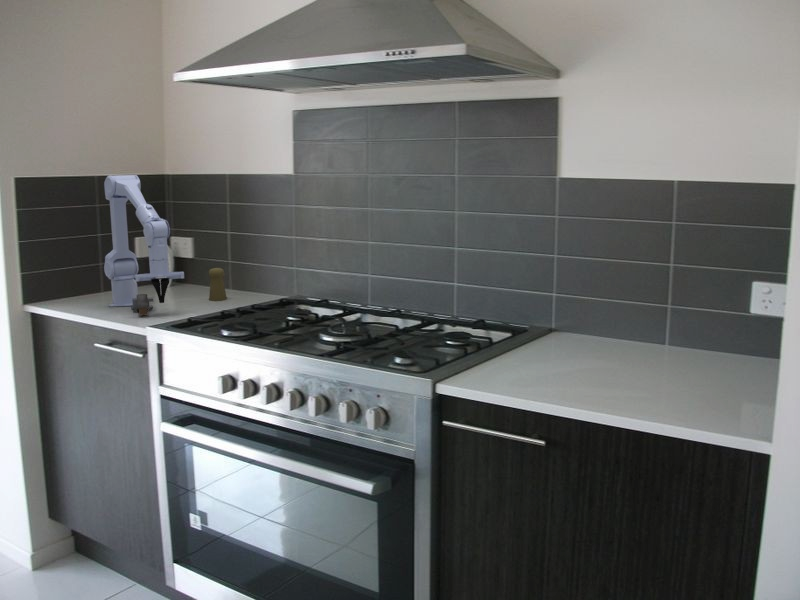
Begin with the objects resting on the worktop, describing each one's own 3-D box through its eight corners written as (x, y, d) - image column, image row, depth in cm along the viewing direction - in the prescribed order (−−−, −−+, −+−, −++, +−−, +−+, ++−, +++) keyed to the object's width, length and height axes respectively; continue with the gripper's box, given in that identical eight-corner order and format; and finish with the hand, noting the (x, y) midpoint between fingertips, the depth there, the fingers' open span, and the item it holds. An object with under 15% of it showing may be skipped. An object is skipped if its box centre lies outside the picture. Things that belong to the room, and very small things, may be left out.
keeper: (133, 311, 258) (132, 298, 258) (153, 309, 260) (153, 297, 260) (133, 312, 256) (132, 299, 255) (154, 311, 258) (153, 298, 257)
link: (135, 305, 264) (133, 287, 263) (149, 304, 265) (147, 286, 264) (135, 315, 247) (134, 296, 246) (150, 314, 248) (149, 295, 247)
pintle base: (135, 306, 266) (134, 293, 265) (156, 306, 266) (155, 293, 265) (128, 310, 259) (127, 297, 259) (149, 310, 259) (148, 297, 258)
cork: (216, 301, 274) (215, 269, 272) (205, 300, 277) (203, 268, 275) (230, 299, 278) (228, 267, 276) (219, 297, 282) (217, 266, 280)
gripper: (134, 262, 242) (138, 306, 245) (183, 259, 247) (186, 302, 250) (133, 259, 249) (137, 302, 251) (181, 257, 254) (184, 299, 256)
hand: (161, 302), depth 251 cm, fingers closed
